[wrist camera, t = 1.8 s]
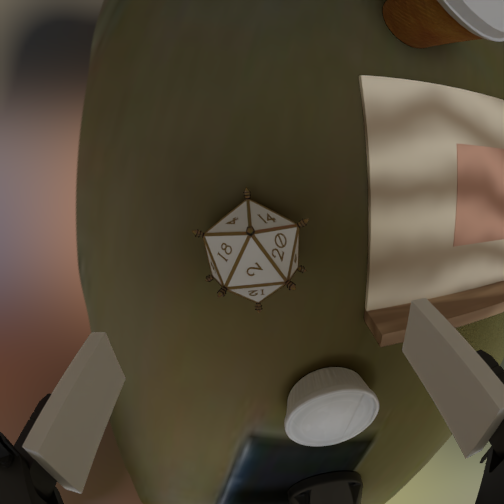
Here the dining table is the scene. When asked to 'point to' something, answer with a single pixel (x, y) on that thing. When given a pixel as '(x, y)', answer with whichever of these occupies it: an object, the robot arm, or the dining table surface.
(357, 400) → the ramekin
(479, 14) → the disposable coffee cup
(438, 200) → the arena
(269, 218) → the game die
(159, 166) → the dining table surface
